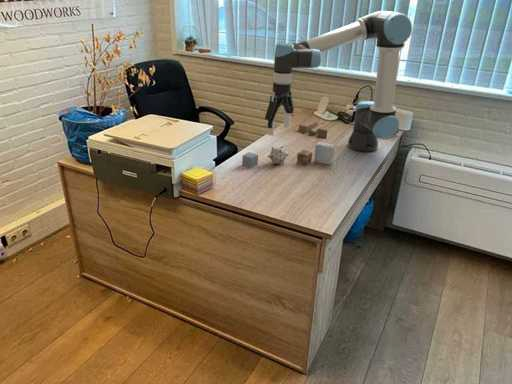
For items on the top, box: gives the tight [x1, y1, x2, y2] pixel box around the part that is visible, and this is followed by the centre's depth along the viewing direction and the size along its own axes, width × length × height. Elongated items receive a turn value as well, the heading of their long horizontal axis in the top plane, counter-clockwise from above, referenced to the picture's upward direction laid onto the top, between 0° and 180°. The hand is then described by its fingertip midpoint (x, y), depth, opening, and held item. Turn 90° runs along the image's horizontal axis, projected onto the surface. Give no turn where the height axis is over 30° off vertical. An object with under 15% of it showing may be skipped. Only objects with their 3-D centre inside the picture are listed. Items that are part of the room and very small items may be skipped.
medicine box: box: [313, 141, 335, 166], centre depth 199 cm, size 8×4×9 cm, turn 65°
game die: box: [267, 145, 289, 166], centre depth 196 cm, size 9×8×10 cm
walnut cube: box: [296, 149, 313, 166], centre depth 199 cm, size 5×5×5 cm
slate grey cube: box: [241, 151, 259, 169], centre depth 194 cm, size 5×5×5 cm
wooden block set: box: [298, 117, 328, 139], centre depth 239 cm, size 17×6×18 cm
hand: (278, 130), depth 190 cm, fingers open, 13 cm apart
